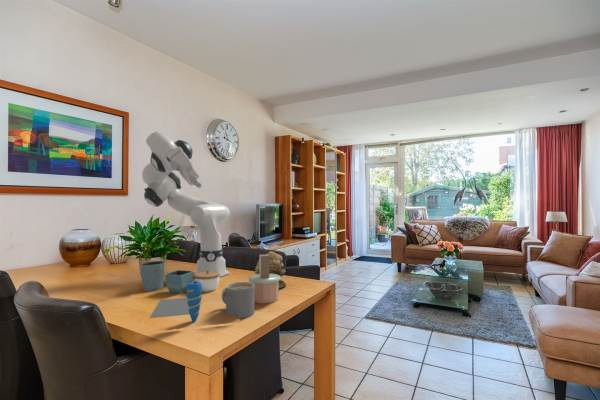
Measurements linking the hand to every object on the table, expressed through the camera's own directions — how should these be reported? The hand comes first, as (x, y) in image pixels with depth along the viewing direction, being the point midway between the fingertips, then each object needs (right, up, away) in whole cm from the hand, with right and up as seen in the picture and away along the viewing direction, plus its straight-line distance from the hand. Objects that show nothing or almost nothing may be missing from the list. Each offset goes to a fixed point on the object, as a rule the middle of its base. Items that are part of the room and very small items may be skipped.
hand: (199, 182), depth 128 cm
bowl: (+28, -48, -4) cm, 56 cm away
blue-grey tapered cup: (-26, -49, +14) cm, 57 cm away
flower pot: (-11, -49, +6) cm, 50 cm away
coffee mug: (+20, -48, -18) cm, 55 cm away
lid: (+28, -40, -4) cm, 49 cm away
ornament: (+8, -48, -28) cm, 56 cm away
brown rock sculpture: (+29, -48, +13) cm, 58 cm away
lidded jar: (+1, -49, +9) cm, 49 cm away
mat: (-3, -48, -13) cm, 50 cm away
